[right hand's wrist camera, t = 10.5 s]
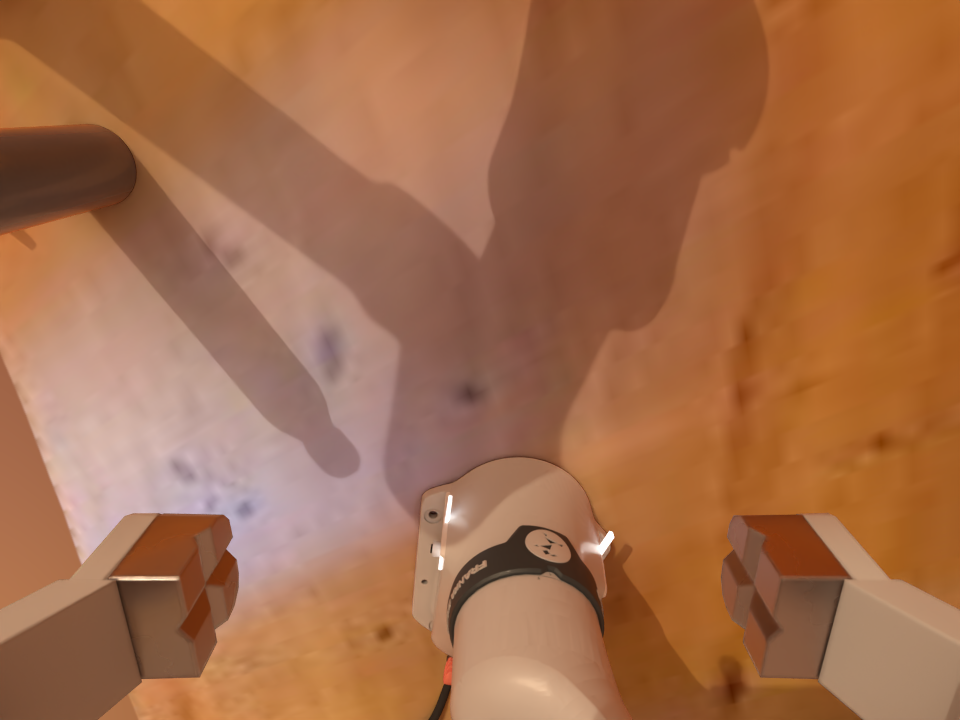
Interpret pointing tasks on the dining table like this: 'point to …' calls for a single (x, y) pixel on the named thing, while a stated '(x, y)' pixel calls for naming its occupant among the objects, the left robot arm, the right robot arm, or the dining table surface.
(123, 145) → the bottle
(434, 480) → the dining table surface
